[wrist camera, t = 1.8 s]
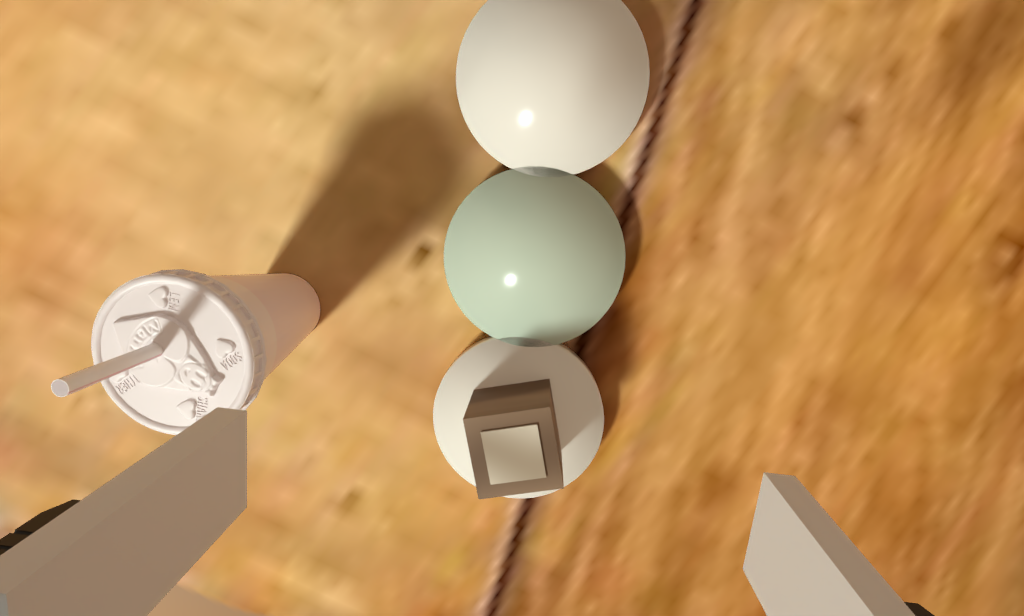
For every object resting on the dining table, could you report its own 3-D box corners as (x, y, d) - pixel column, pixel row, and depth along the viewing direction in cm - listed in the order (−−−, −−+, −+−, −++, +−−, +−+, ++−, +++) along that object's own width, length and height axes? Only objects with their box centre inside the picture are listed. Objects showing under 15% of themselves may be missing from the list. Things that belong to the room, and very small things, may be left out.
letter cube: (473, 389, 30) (462, 420, 26) (549, 378, 29) (550, 407, 25) (487, 460, 30) (478, 500, 26) (561, 450, 30) (563, 489, 26)
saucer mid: (454, 159, 28) (450, 157, 27) (633, 175, 28) (637, 174, 27) (442, 332, 30) (438, 337, 29) (610, 349, 30) (613, 356, 29)
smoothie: (265, 223, 30) (24, 248, 16) (367, 292, 30) (219, 374, 16) (208, 321, 31) (-59, 421, 17) (307, 386, 31) (123, 535, 18)
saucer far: (442, 323, 30) (438, 328, 29) (611, 340, 30) (614, 346, 29) (432, 477, 32) (428, 488, 31) (591, 495, 32) (593, 507, 30)
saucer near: (466, -26, 27) (463, -36, 26) (657, -11, 26) (662, -20, 25) (453, 169, 29) (449, 168, 27) (632, 185, 28) (635, 185, 27)
